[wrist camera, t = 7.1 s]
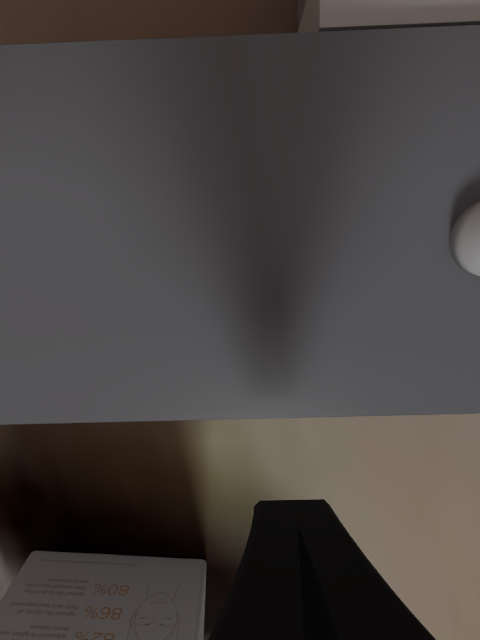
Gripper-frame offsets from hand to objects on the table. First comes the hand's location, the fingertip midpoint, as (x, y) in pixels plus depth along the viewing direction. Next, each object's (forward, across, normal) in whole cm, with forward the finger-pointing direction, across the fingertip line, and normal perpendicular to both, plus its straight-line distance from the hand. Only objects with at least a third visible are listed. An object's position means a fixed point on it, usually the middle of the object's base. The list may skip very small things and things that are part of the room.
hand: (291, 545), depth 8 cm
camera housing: (+9, 0, -6) cm, 11 cm away
